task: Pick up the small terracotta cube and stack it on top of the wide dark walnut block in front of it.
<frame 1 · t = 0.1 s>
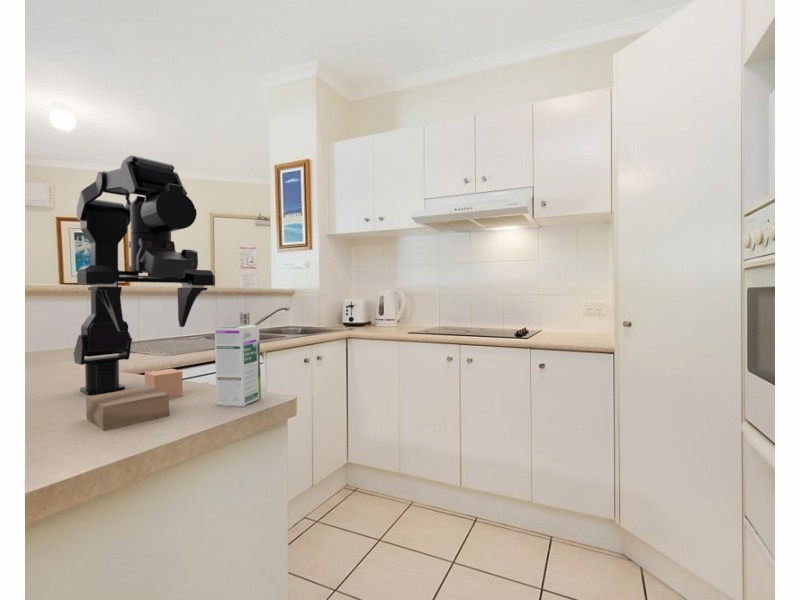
hand: (152, 328, 65), 15 cm above the counter, tool pointing down, fingers open, 9 cm apart
syrup box: (238, 403, 73), on the counter
walnut block: (128, 419, 64), on the counter
terracotta cube: (163, 396, 77), on the counter
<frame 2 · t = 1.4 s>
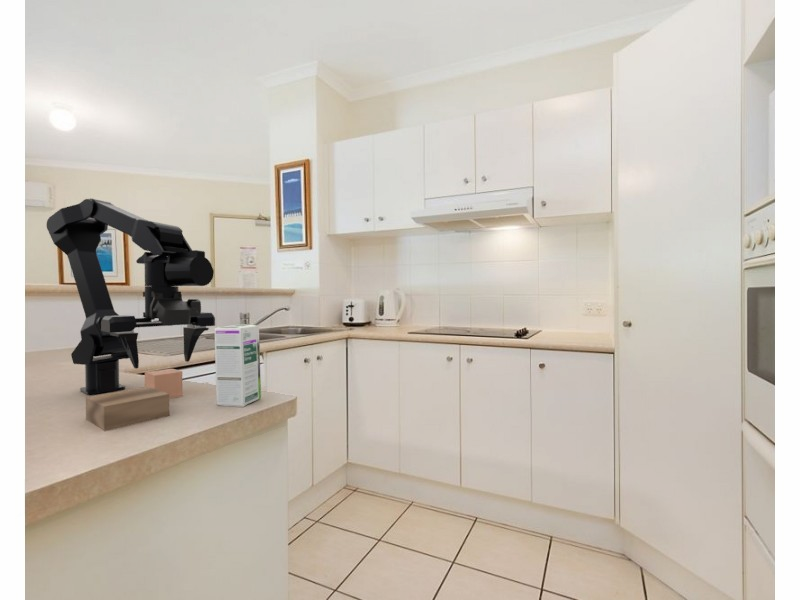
hand: (162, 364, 77), 6 cm above the counter, tool pointing down, fingers open, 9 cm apart
nothing on the counter moved.
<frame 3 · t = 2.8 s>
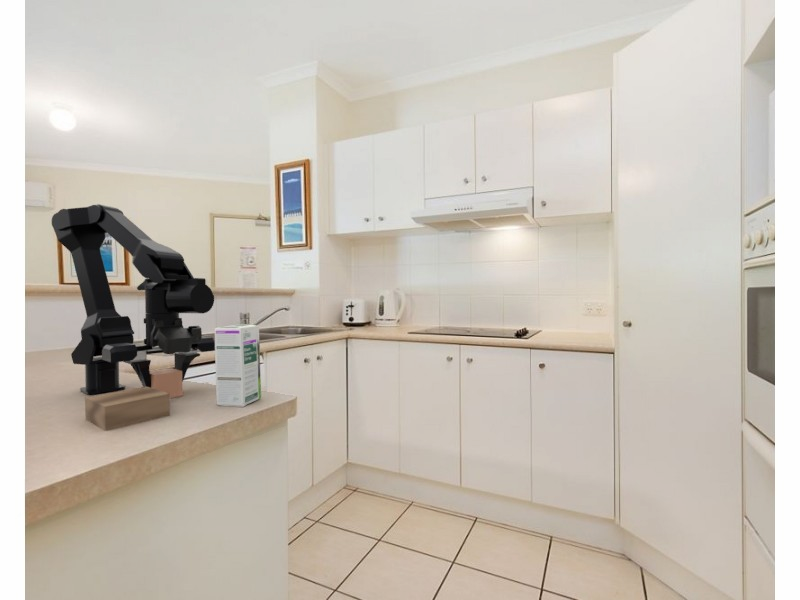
hand: (163, 391, 77), 1 cm above the counter, tool pointing down, fingers closed on terracotta cube, 5 cm apart
terracotta cube: (163, 396, 77), on the counter, touching gripper
everything else where it was.
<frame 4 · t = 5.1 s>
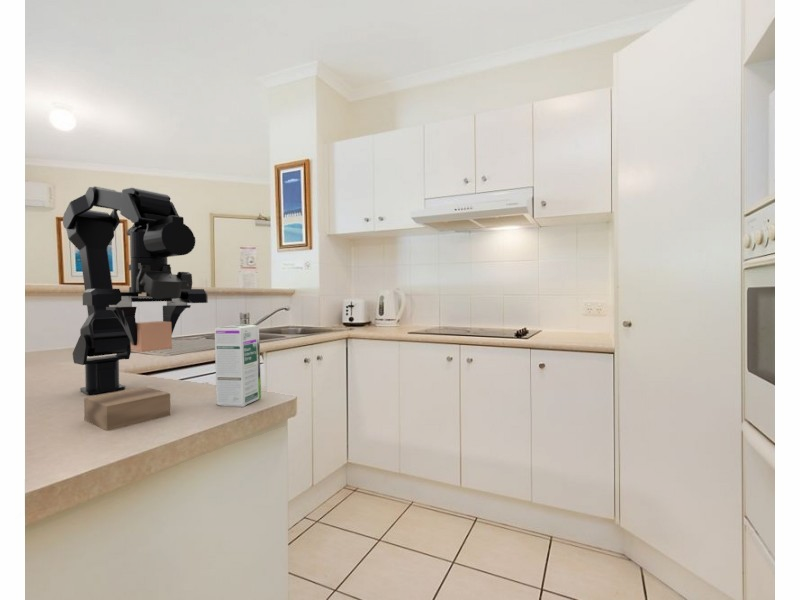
hand: (151, 343, 72), 11 cm above the counter, tool pointing down, fingers closed on terracotta cube, 5 cm apart
terracotta cube: (151, 349, 72), point 10 cm above the counter, touching gripper
everything else where it was.
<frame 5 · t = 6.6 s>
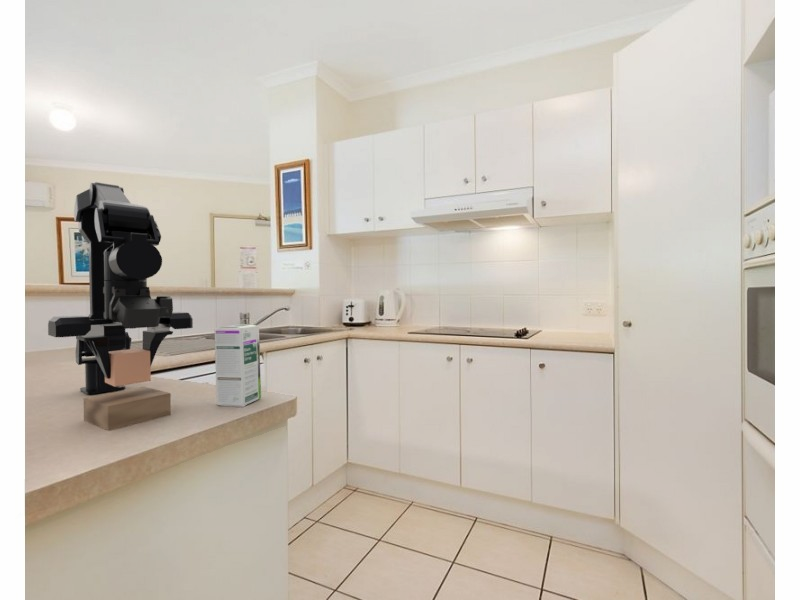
hand: (127, 375, 64), 7 cm above the counter, tool pointing down, fingers closed on terracotta cube, 5 cm apart
terracotta cube: (127, 381, 64), point 6 cm above the counter, touching gripper
everything else where it was.
when the fingers open (6 cm above the counter, at t = 7.5 s): terracotta cube drops 2 cm, resting on walnut block.
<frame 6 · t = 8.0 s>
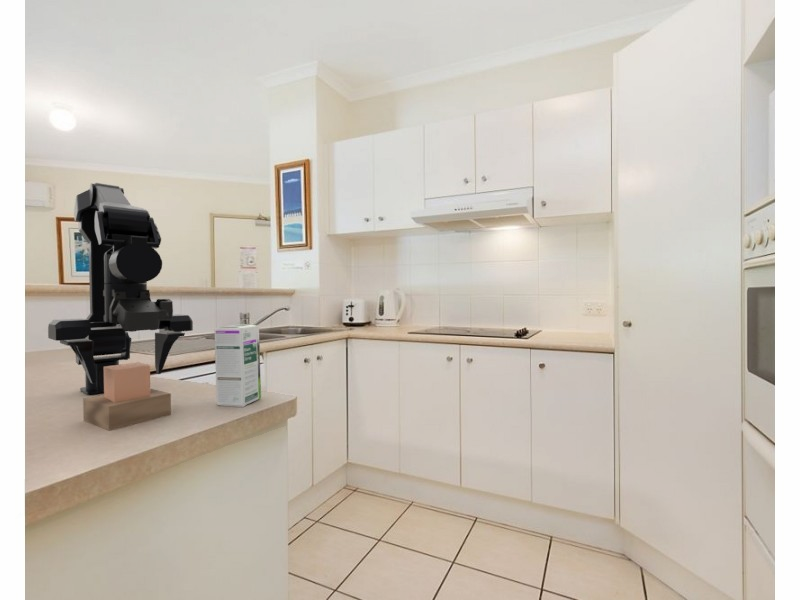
hand: (127, 378, 64), 6 cm above the counter, tool pointing down, fingers open, 9 cm apart
walnut block: (128, 419, 64), on the counter, touching terracotta cube
terracotta cube: (127, 396, 64), point 4 cm above the counter, touching walnut block
everything else where it was.
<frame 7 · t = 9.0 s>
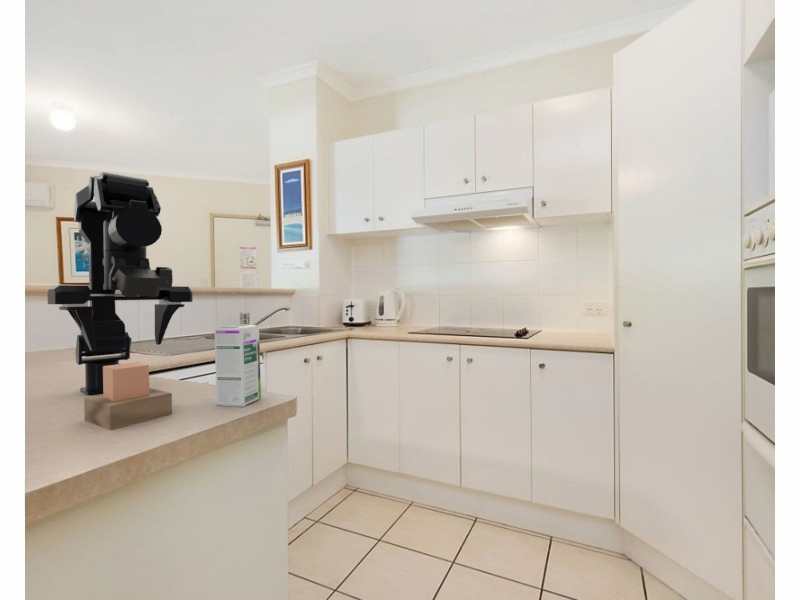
hand: (127, 347, 64), 12 cm above the counter, tool pointing down, fingers open, 9 cm apart
walnut block: (129, 419, 64), on the counter
terracotta cube: (126, 395, 64), point 4 cm above the counter
everything else where it was.
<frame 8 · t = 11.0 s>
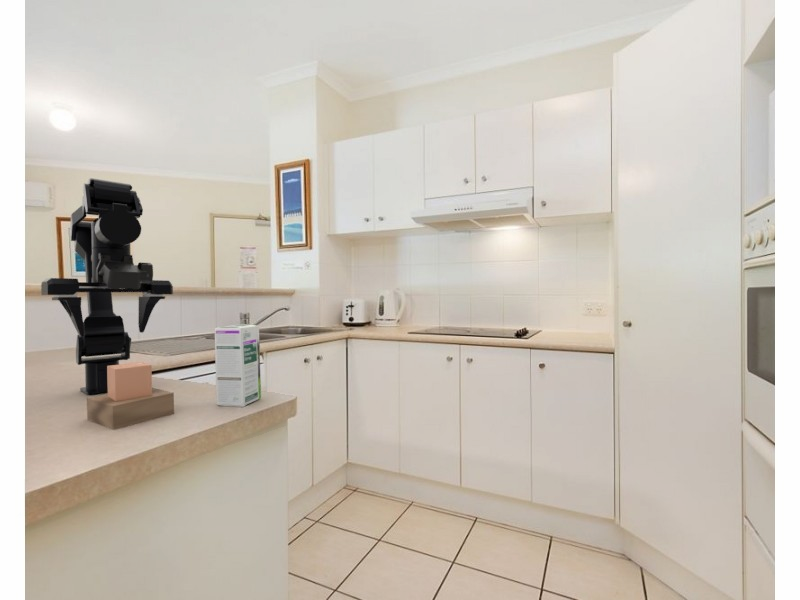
hand: (113, 334, 72), 13 cm above the counter, tool pointing down, fingers open, 9 cm apart
walnut block: (131, 419, 65), on the counter, touching terracotta cube
terracotta cube: (129, 395, 64), point 4 cm above the counter, touching walnut block
everything else where it was.
at the end: terracotta cube 0.2 cm off-centre on the walnut block, point 4.0 cm above the walnut block's base; terracotta cube tilted 0°; the gripper is holding nothing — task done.
